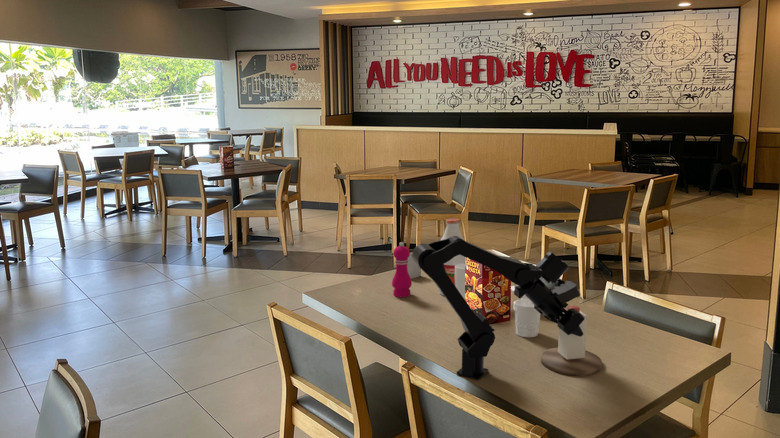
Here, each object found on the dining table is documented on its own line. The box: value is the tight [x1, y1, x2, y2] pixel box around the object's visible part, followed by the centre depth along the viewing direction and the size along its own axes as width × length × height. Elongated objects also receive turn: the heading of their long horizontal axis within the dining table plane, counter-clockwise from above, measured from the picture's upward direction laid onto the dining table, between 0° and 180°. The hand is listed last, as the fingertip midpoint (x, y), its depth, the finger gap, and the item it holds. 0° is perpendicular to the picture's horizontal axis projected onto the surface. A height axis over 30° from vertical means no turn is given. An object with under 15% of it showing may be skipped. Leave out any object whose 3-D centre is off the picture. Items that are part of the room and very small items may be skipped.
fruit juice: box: [438, 217, 466, 297], centre depth 228 cm, size 9×9×28 cm
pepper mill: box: [391, 241, 412, 298], centre depth 228 cm, size 7×7×20 cm
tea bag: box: [407, 251, 422, 280], centre depth 252 cm, size 4×7×10 cm, turn 134°
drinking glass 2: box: [455, 263, 466, 298], centre depth 214 cm, size 7×7×15 cm
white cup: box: [514, 298, 541, 338], centre depth 191 cm, size 8×8×10 cm
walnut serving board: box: [540, 346, 603, 377], centre depth 170 cm, size 16×16×1 cm
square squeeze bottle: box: [557, 305, 588, 359], centre depth 169 cm, size 5×5×14 cm
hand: (577, 331), depth 169 cm, fingers closed on square squeeze bottle, 5 cm apart
